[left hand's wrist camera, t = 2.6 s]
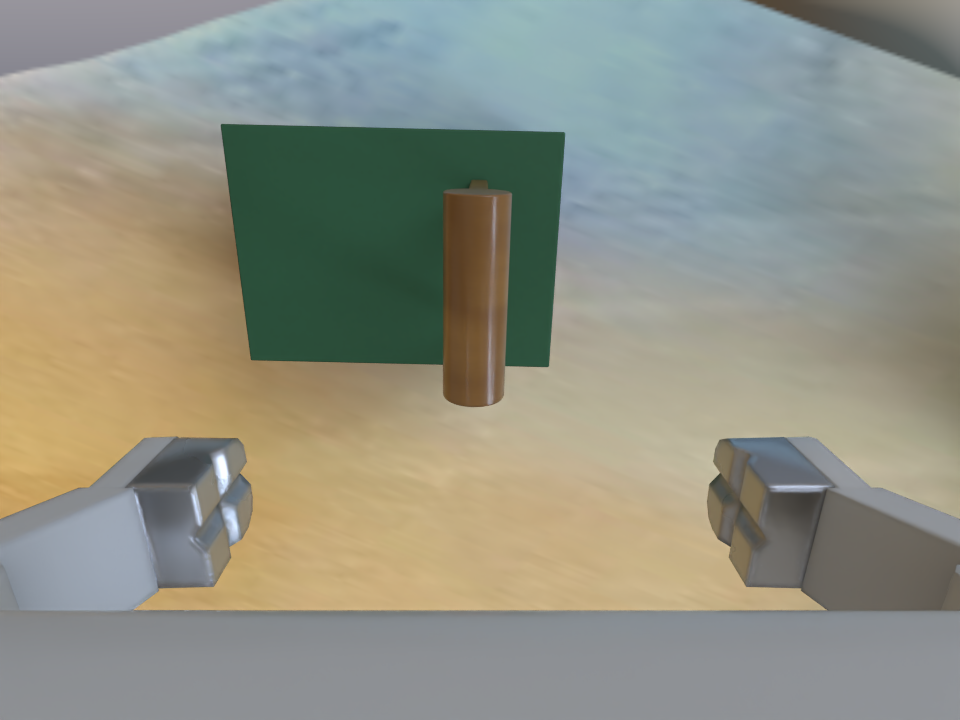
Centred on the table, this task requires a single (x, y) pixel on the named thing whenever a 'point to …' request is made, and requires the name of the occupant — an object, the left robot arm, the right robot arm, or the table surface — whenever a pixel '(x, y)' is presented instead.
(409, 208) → the lid
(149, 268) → the table surface
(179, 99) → the table surface
